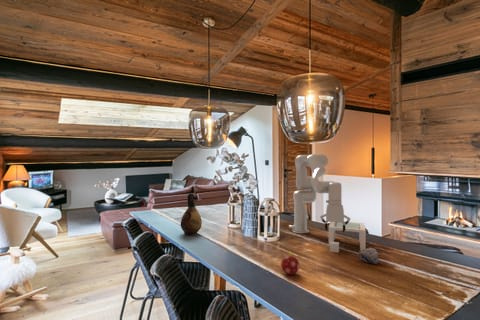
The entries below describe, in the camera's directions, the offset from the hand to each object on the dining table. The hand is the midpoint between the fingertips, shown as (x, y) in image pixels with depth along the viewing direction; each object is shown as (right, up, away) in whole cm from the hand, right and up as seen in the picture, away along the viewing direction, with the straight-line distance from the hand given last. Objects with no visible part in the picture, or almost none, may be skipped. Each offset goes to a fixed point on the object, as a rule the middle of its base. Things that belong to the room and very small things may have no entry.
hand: (335, 231), depth 168 cm
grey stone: (0, -12, +1) cm, 12 cm away
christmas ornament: (-33, -12, -34) cm, 49 cm away
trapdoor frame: (+13, -12, +15) cm, 23 cm away
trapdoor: (+13, -1, +15) cm, 20 cm away
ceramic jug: (-94, -12, +37) cm, 102 cm away
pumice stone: (+12, -13, -16) cm, 24 cm away
